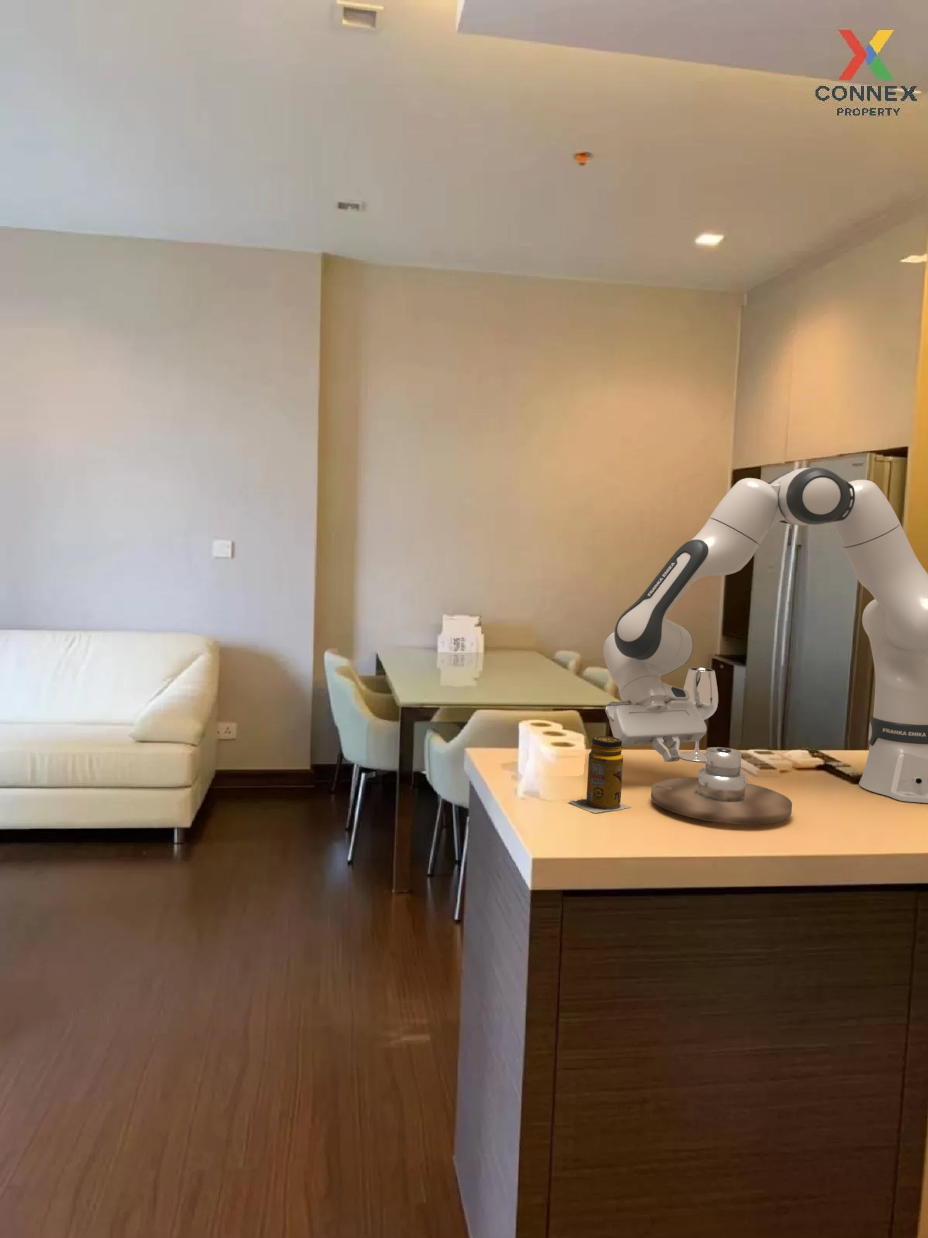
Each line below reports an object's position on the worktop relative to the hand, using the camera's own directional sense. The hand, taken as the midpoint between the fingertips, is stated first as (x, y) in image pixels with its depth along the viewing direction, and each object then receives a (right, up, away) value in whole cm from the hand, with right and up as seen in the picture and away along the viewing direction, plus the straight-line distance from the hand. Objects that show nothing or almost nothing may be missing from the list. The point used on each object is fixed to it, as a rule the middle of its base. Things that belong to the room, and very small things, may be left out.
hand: (673, 760), depth 168 cm
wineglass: (+12, -4, +29) cm, 31 cm away
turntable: (+5, -6, -12) cm, 14 cm away
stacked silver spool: (+6, -4, -12) cm, 14 cm away
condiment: (-16, -6, -12) cm, 21 cm away
